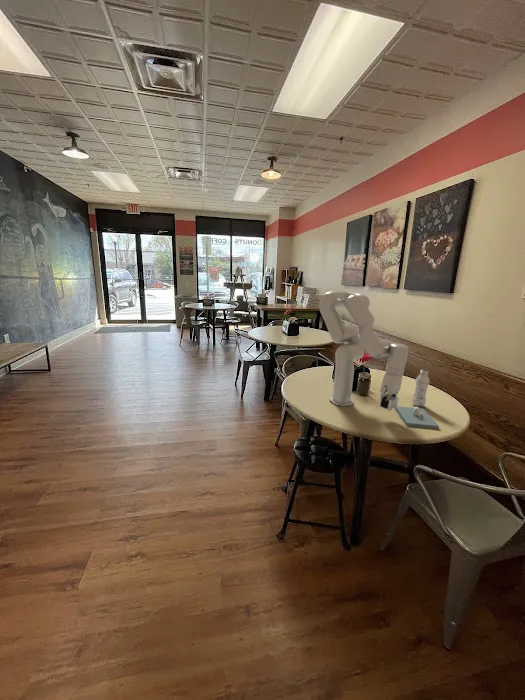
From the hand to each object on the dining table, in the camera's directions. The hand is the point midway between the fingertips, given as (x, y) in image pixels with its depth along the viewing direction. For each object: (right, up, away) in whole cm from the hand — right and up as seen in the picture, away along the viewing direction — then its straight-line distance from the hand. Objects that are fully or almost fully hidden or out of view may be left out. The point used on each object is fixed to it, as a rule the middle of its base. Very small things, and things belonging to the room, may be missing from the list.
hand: (387, 405), depth 139 cm
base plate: (+15, -7, +3) cm, 17 cm away
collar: (0, -1, 0) cm, 1 cm away
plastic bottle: (+24, -4, +18) cm, 30 cm away
